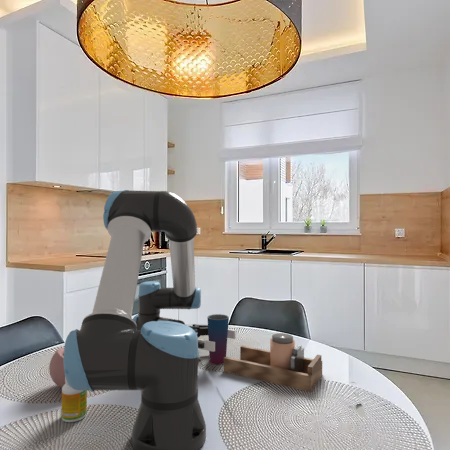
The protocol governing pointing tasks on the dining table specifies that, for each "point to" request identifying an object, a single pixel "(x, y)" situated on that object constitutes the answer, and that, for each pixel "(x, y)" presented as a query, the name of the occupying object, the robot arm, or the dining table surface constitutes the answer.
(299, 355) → the pusher
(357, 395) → the spoon
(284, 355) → the jar
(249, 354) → the wooden tray
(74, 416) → the supplement bottle
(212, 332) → the cup
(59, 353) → the pink round piece
